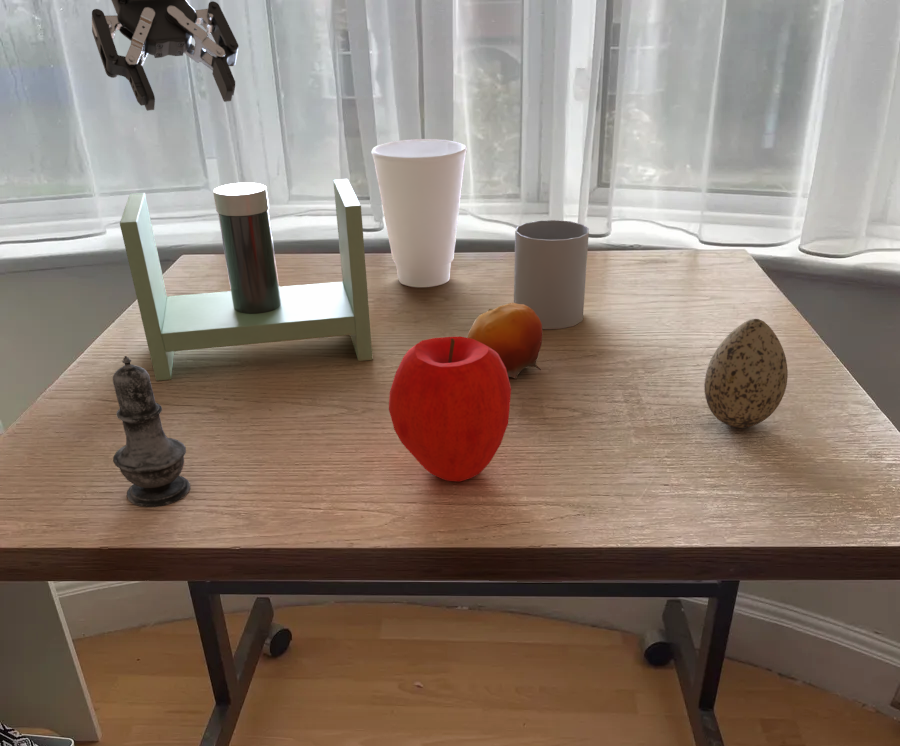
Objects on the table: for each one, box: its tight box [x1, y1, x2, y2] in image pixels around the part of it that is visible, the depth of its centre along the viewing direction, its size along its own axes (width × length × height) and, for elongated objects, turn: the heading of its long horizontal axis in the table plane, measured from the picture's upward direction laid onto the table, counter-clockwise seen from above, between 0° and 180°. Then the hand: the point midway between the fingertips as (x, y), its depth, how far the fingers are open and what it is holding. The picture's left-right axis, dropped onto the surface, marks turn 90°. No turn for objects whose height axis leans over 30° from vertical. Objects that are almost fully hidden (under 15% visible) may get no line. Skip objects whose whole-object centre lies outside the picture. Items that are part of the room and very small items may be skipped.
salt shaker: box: [112, 355, 191, 508], centre depth 73 cm, size 6×6×12 cm
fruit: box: [466, 302, 543, 380], centre depth 94 cm, size 8×8×8 cm
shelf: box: [119, 178, 374, 382], centre depth 97 cm, size 23×12×16 cm, turn 101°
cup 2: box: [513, 219, 590, 330], centre depth 105 cm, size 8×8×10 cm
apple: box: [388, 335, 512, 482], centre depth 74 cm, size 10×10×12 cm
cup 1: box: [371, 138, 468, 288], centre depth 116 cm, size 12×12×16 cm
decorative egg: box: [703, 318, 789, 429], centre depth 81 cm, size 7×7×10 cm
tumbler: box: [212, 182, 281, 314], centre depth 95 cm, size 5×5×12 cm
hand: (190, 100), depth 95 cm, fingers open, 8 cm apart
